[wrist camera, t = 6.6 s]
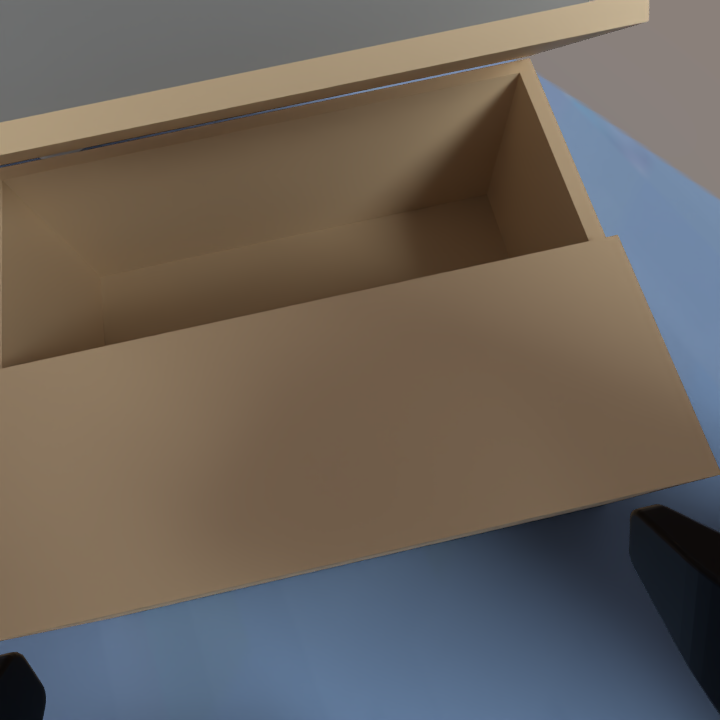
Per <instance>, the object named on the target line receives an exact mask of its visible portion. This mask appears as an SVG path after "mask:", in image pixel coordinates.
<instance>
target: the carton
mask: <svg viewBox="0 0 720 720" xmlns="http://www.w3.org/2000/svg"><path fill="white" fill-rule="evenodd" d="M717 475H720V470H719V467H718V465H717V463H716V460H715V458H714V456H713V453H712V451H711V449H710V447H709V444H708V442H707V440H706V437H705V435H704V433H703V430H702V428H701V426H700V423H699V421H698V419H697V417H696V414H695V412H694V410H693V407H692V405H691V403H690V400H689V398H688V396H687V394H686V391H685V389H684V387H683V384H682V382H681V380H680V377H679V375H678V373H677V370H676V368H675V366H674V364H673V361H672V359H671V357H670V354H669V352H668V350H667V347H666V345H665V343H664V341H663V338H662V336H661V334H660V331H659V329H658V327H657V324H656V322H655V320H654V317H653V315H652V313H651V311H650V308H649V306H648V304H647V301H646V299H645V297H644V294H643V292H642V290H641V288H640V285H639V283H638V281H637V278H636V276H635V274H634V271H633V269H632V267H631V264H630V262H629V260H628V258H627V255H626V253H625V251H624V248H623V246H622V244H621V241H620V239H619V237H618V235H615V236H611V237H605V234H604V232H603V229H602V227H601V225H600V222H599V220H598V218H597V215H596V213H595V211H594V208H593V206H592V204H591V201H590V199H589V197H588V194H587V192H586V189H585V187H584V185H583V182H582V180H581V178H580V175H579V173H578V171H577V168H576V166H575V164H574V161H573V159H572V157H571V154H570V152H569V149H568V147H567V145H566V142H565V140H564V138H563V135H562V133H561V131H560V128H559V126H558V124H557V121H556V119H555V116H554V114H553V112H552V109H551V107H550V105H549V102H548V100H547V98H546V95H545V93H544V91H543V88H542V86H541V84H540V81H539V79H538V76H537V74H536V72H535V69H534V67H533V65H532V62H531V60H530V59H524V60H519V61H514V62H509V63H504V64H500V65H495V66H490V67H485V68H480V69H475V70H471V71H466V72H461V73H456V74H451V75H446V76H442V77H437V78H432V79H427V80H422V81H417V82H413V83H408V84H403V85H398V86H393V87H389V88H384V89H379V90H374V91H369V92H364V93H360V94H355V95H350V96H345V97H340V98H335V99H331V100H326V101H321V102H316V103H311V104H306V105H302V106H297V107H292V108H287V109H282V110H277V111H273V112H268V113H263V114H258V115H253V116H249V117H244V118H239V119H234V120H229V121H224V122H220V123H215V124H210V125H205V126H200V127H195V128H191V129H186V130H181V131H176V132H171V133H166V134H162V135H157V136H152V137H147V138H142V139H137V140H133V141H128V142H123V143H118V144H113V145H109V146H104V147H99V148H94V149H89V150H84V151H80V152H75V153H70V154H65V155H60V156H55V157H51V158H46V159H41V160H36V161H31V162H26V163H22V164H17V165H12V166H7V167H2V168H0V641H3V640H8V639H13V638H18V637H23V636H27V635H32V634H37V633H42V632H47V631H52V630H57V629H61V628H66V627H71V626H76V625H81V624H86V623H90V622H95V621H100V620H105V619H110V618H115V617H119V616H123V615H128V614H132V613H136V612H141V611H145V610H149V609H154V608H158V607H162V606H167V605H171V604H175V603H180V602H184V601H188V600H193V599H197V598H201V597H206V596H210V595H214V594H219V593H223V592H227V591H232V590H236V589H240V588H245V587H249V586H253V585H258V584H262V583H267V582H271V581H275V580H280V579H284V578H288V577H293V576H297V575H301V574H306V573H310V572H314V571H319V570H323V569H327V568H332V567H336V566H340V565H345V564H349V563H353V562H358V561H362V560H366V559H371V558H375V557H379V556H384V555H388V554H392V553H397V552H401V551H405V550H410V549H414V548H418V547H423V546H427V545H431V544H436V543H440V542H445V541H449V540H453V539H458V538H462V537H466V536H471V535H475V534H479V533H484V532H488V531H492V530H497V529H501V528H505V527H510V526H514V525H518V524H523V523H527V522H531V521H536V520H540V519H544V518H549V517H553V516H557V515H562V514H566V513H570V512H575V511H579V510H583V509H588V508H592V507H596V506H601V505H605V504H609V503H613V502H617V501H621V500H624V499H628V498H632V497H636V496H640V495H644V494H647V493H651V492H655V491H659V490H663V489H667V488H670V487H674V486H678V485H682V484H686V483H690V482H694V481H697V480H701V479H705V478H709V477H713V476H717Z"/></svg>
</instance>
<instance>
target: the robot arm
mask: <svg viewBox="0 0 720 720" xmlns="http://www.w3.org/2000/svg"><path fill="white" fill-rule="evenodd" d="M629 553H630V558H631V562H632V564H633V566H634V569H635V570H636V572H637V574H638V576H639V578H640V580H641V582H642V583H643V585H644V587H645V589H646V591H647V593H648V594H649V596H650V598H651V600H652V602H653V604H654V606H655V607H656V609H657V611H658V613H659V615H660V617H661V618H662V620H663V622H664V624H665V626H666V628H667V630H668V631H669V633H670V635H671V637H672V639H673V641H674V642H675V644H676V646H677V648H678V650H679V652H680V653H681V655H682V657H683V659H684V660H685V662H686V664H687V666H688V667H689V669H690V671H691V672H692V674H693V675H694V677H695V678H696V680H697V681H698V683H699V685H700V686H701V688H702V689H703V691H704V692H705V694H706V695H707V696H708V698H709V699H710V701H711V702H712V704H713V705H714V707H715V708H716V710H717V711H718V713H719V714H720V532H718V531H716V530H714V529H711V528H709V527H707V526H705V525H703V524H701V523H699V522H697V521H695V520H693V519H691V518H689V517H687V516H685V515H683V514H681V513H679V512H676V511H674V510H672V509H670V508H668V507H666V506H663V505H660V504H656V505H651V506H647V507H642V508H638V509H635V510H633V511H632V513H631V516H630V537H629ZM45 704H46V694H45V690H44V687H43V685H42V683H41V682H40V680H39V678H38V677H37V675H36V674H35V672H34V671H33V669H32V668H31V666H30V665H29V663H28V662H27V660H26V659H25V657H24V656H23V655H22V654H20V653H18V652H11V653H7V654H3V655H0V720H43V716H44V710H45Z"/></svg>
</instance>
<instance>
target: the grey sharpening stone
mask: <svg viewBox="0 0 720 720" xmlns="http://www.w3.org/2000/svg"><path fill="white" fill-rule="evenodd" d="M648 21H649V0H596V1H591V2H589V0H0V165H5V164H10V163H15V162H19V161H24V160H29V159H34V158H39V157H44V156H48V155H53V154H58V153H63V152H68V151H72V150H77V149H82V148H87V147H92V146H97V145H101V144H106V143H111V142H116V141H121V140H126V139H130V138H135V137H140V136H145V135H150V134H155V133H159V132H164V131H169V130H174V129H179V128H184V127H188V126H193V125H198V124H203V123H208V122H213V121H217V120H222V119H227V118H232V117H237V116H242V115H246V114H251V113H256V112H261V111H266V110H271V109H275V108H280V107H285V106H290V105H295V104H300V103H304V102H309V101H314V100H319V99H324V98H328V97H333V96H338V95H343V94H348V93H353V92H357V91H362V90H367V89H372V88H377V87H382V86H386V85H391V84H396V83H401V82H406V81H411V80H415V79H420V78H425V77H430V76H435V75H440V74H444V73H449V72H454V71H459V70H464V69H469V68H473V67H478V66H483V65H488V64H493V63H498V62H502V61H507V60H512V59H517V58H522V57H527V56H531V55H534V54H538V53H541V52H545V51H548V50H552V49H555V48H558V47H562V46H565V45H569V44H572V43H576V42H579V41H583V40H586V39H589V38H593V37H596V36H600V35H603V34H607V33H610V32H614V31H617V30H621V29H624V28H627V27H630V26H634V25H638V24H641V23H644V22H648Z"/></svg>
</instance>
